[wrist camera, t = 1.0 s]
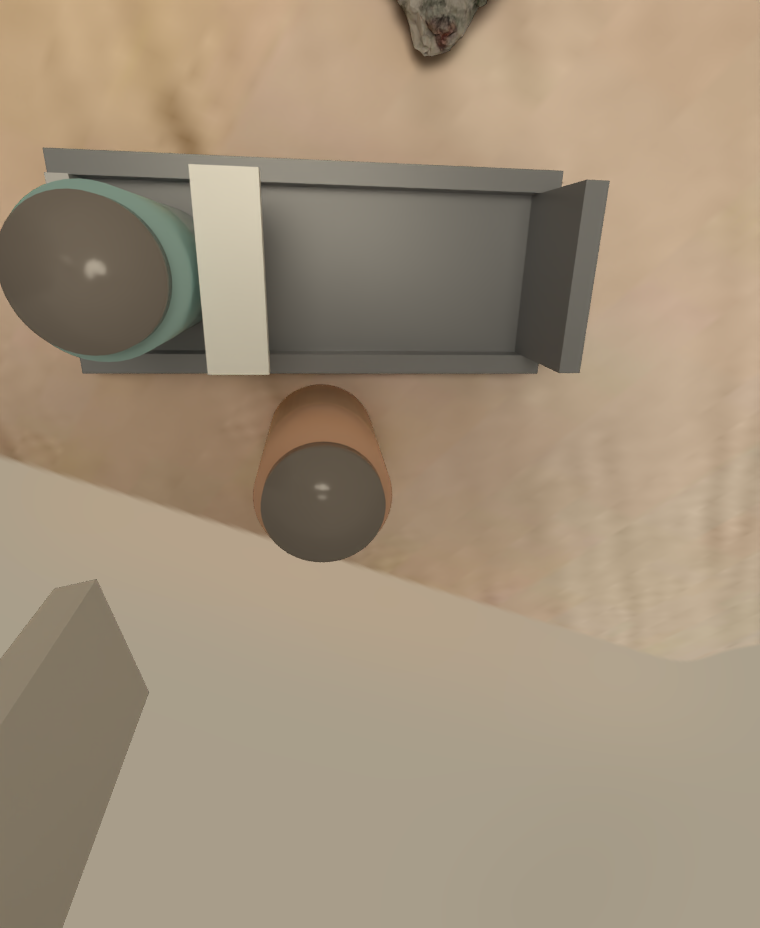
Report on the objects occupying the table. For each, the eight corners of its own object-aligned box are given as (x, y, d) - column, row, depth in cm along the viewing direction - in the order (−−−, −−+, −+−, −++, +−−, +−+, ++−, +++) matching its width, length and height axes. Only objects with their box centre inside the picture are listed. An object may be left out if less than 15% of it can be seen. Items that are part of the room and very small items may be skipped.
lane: (96, 366, 29) (37, 396, 23) (60, 154, 25) (-22, 122, 19) (525, 367, 31) (576, 393, 25) (548, 175, 28) (614, 153, 22)
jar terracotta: (272, 482, 32) (255, 572, 23) (267, 384, 30) (245, 440, 21) (371, 480, 33) (392, 567, 24) (373, 384, 31) (397, 438, 22)
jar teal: (109, 330, 28) (5, 367, 18) (89, 201, 26) (-39, 169, 16) (228, 331, 28) (186, 367, 19) (219, 206, 26) (165, 178, 17)
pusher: (234, 345, 28) (207, 374, 21) (223, 189, 26) (188, 164, 19) (280, 345, 29) (269, 374, 22) (274, 191, 26) (258, 167, 19)
